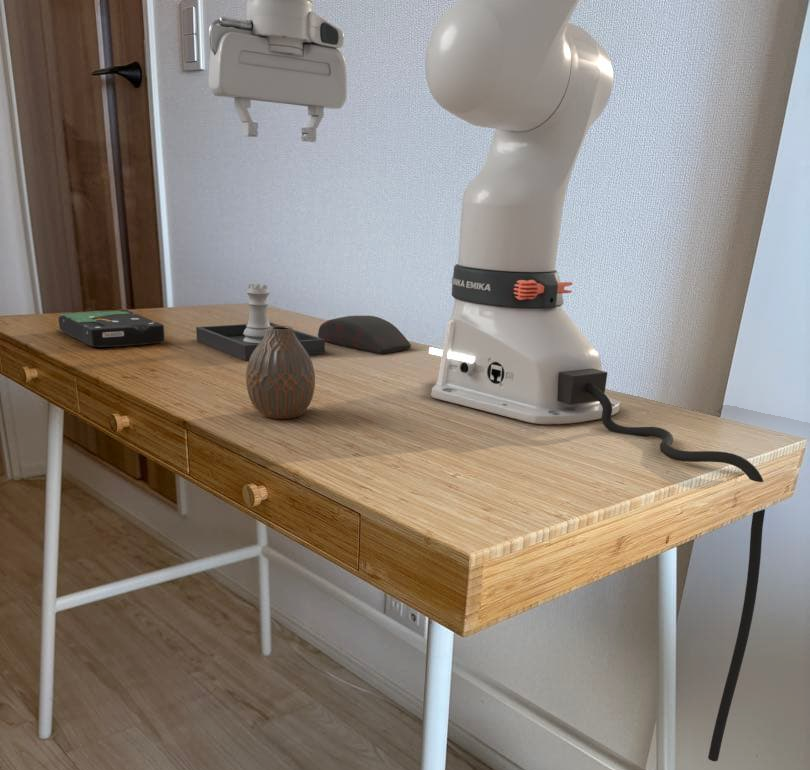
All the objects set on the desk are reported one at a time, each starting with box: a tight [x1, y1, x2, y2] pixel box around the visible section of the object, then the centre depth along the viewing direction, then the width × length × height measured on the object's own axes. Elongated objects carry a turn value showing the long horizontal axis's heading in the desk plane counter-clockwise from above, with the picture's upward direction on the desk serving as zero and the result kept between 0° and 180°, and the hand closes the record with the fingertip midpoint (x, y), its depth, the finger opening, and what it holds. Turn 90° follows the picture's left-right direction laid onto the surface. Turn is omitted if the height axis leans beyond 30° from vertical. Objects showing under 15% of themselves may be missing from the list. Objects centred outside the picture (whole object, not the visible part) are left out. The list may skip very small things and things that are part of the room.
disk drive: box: [57, 309, 166, 348], centre depth 118 cm, size 10×3×15 cm
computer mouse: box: [317, 315, 412, 355], centre depth 123 cm, size 8×14×4 cm, turn 49°
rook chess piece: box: [243, 283, 271, 344], centre depth 116 cm, size 4×4×8 cm
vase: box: [245, 325, 316, 420], centre depth 84 cm, size 7×7×9 cm
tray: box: [195, 322, 326, 362], centre depth 117 cm, size 15×12×2 cm
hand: (280, 139), depth 118 cm, fingers open, 8 cm apart
